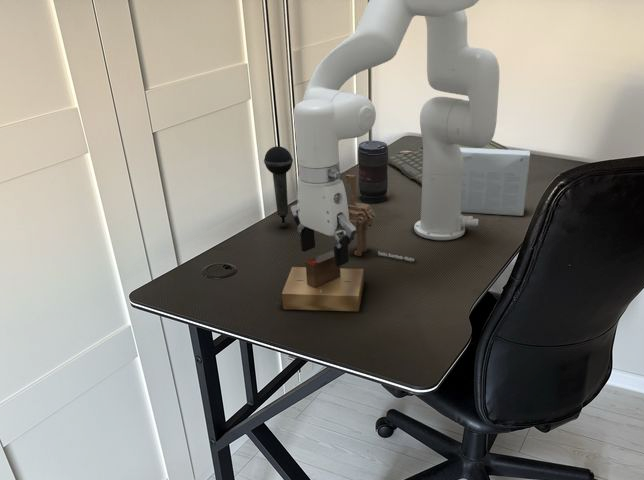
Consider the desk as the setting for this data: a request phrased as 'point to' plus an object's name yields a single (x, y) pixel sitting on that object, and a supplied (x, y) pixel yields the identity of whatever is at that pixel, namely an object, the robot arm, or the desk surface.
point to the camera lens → (373, 170)
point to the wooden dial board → (324, 291)
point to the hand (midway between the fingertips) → (324, 256)
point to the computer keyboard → (414, 160)
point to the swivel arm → (322, 270)
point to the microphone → (279, 177)
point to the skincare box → (494, 181)
